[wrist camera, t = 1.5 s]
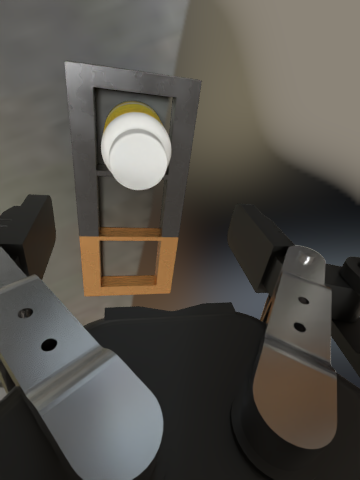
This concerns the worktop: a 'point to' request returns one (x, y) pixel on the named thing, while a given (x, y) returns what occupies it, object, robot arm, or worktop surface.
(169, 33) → the worktop surface
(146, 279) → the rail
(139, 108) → the supplement bottle
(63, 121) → the worktop surface
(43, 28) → the worktop surface
